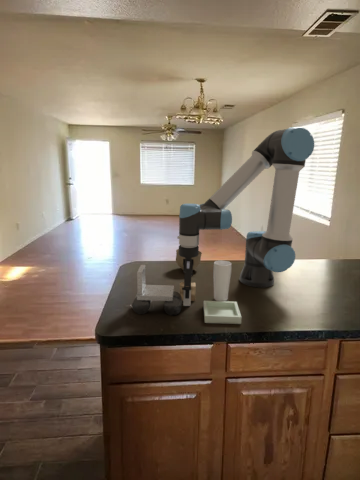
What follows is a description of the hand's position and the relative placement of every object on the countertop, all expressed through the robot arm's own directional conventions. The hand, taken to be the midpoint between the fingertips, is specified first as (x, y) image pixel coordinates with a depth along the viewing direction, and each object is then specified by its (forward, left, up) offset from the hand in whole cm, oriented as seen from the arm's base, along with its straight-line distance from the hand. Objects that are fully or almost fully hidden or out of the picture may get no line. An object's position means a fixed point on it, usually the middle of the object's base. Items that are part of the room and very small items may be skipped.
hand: (187, 298), depth 123 cm
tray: (-12, +13, 0) cm, 18 cm away
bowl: (0, -34, 0) cm, 34 cm away
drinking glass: (-13, 0, 0) cm, 13 cm away
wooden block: (0, 0, 0) cm, 0 cm away
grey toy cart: (+11, +11, 0) cm, 15 cm away
